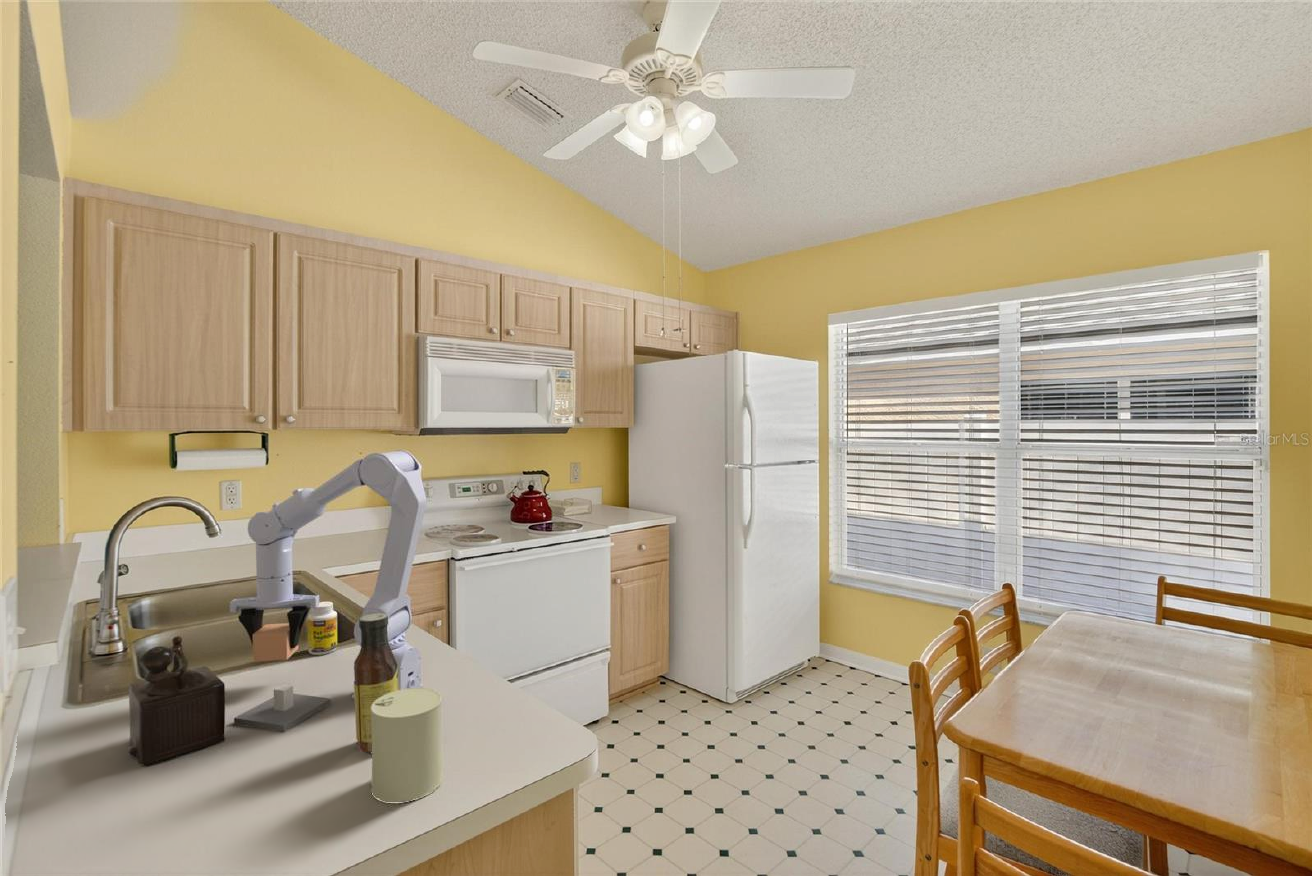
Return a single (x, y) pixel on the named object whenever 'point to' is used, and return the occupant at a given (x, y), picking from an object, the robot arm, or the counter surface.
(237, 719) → the shaft base
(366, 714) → the sauce bottle
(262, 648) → the orange cube
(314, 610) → the supplement bottle
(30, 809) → the counter surface
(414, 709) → the can
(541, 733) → the counter surface
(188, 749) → the dark brown boxy piece
